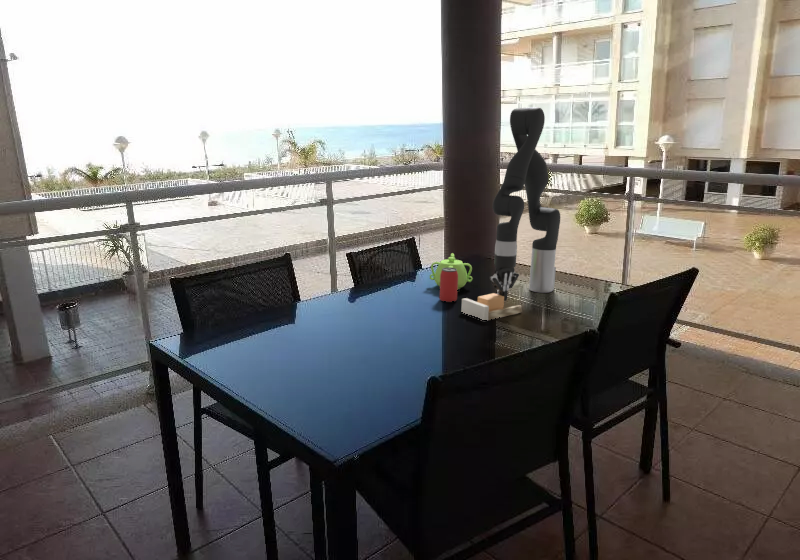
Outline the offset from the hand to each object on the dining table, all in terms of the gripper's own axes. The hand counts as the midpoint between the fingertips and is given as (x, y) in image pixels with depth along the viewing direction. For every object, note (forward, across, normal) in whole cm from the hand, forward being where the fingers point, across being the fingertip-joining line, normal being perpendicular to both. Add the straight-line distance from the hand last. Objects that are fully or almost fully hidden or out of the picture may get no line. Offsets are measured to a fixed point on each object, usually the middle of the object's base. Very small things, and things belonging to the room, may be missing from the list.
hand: (502, 300), depth 206 cm
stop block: (+4, +13, 0) cm, 14 cm away
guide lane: (+4, +4, 0) cm, 6 cm away
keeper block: (+4, +6, 0) cm, 7 cm away
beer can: (+4, +8, -20) cm, 22 cm away
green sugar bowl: (+4, -5, -34) cm, 35 cm away
